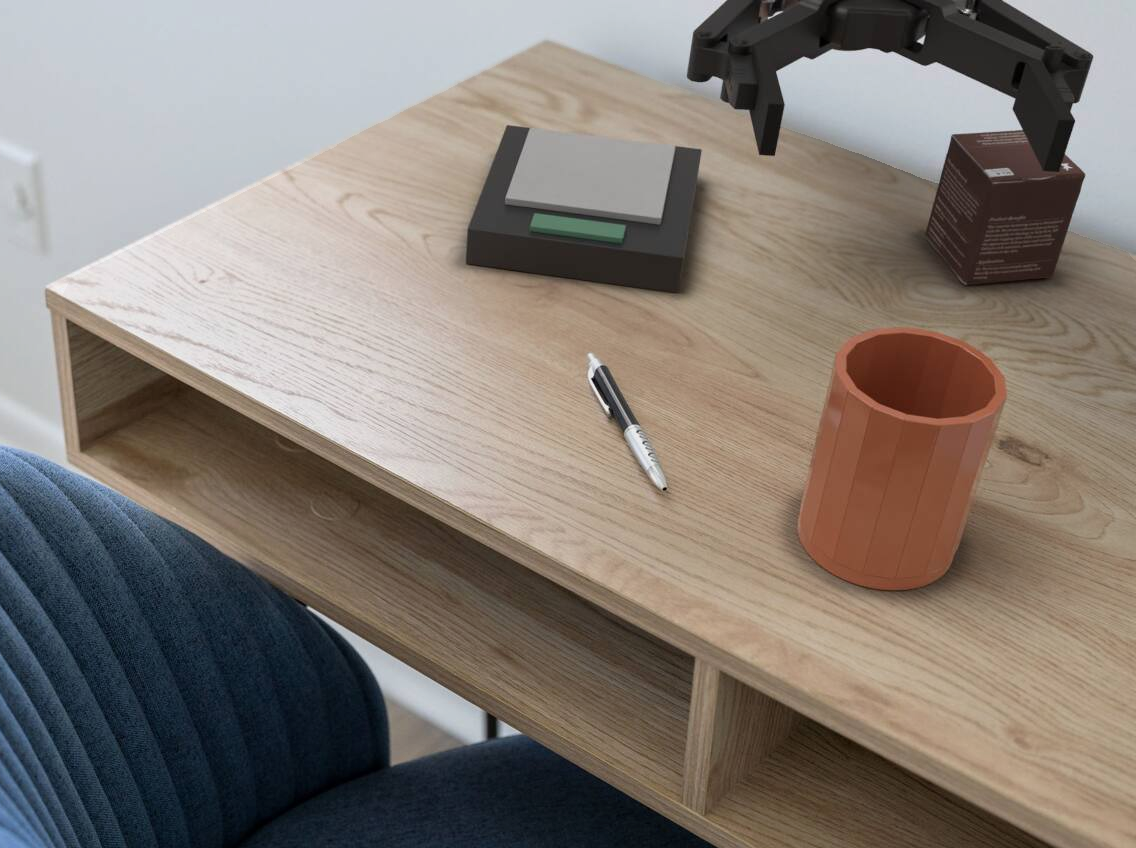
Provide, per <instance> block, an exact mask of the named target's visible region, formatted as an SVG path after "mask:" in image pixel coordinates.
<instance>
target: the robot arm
mask: <svg viewBox="0 0 1136 848" xmlns="http://www.w3.org/2000/svg"><path fill="white" fill-rule="evenodd" d="M776 13H777V14H776ZM775 14H776V15H775ZM922 38H924V39H923V42H919V40H921V39H922ZM867 49H871V50H877V51H879V52H882V53H884V54H889V53H895V54H897V55H899V56H901V57H903V58H905V59H908V60H910V61H912V62H914V63H916V64H919V65H920V66H924V67H927V66H931V65H932V64H936V63H938V64H939V65H942V66H943V67H946V68H948V69H950V70H952V71H954V72H956V73H959V74H960V75H963V76H966V78H967V77H968V78H970V79H972V80H974V81H975V82H978V83H981V84H982V85H984V86H987V87H989V88H992V89H993V90H995V91H998V92H999V93H1002V94H1004V95H1006V96H1008V97H1010V98H1012V99H1014V102H1013V104H1012V111H1013V114H1014V115H1015V117H1016V119H1017V121H1018V123H1019V126H1020V127H1021V130H1023V131H1024V133H1025V135H1026V137H1027V139H1028V141H1029V143H1030V145H1031V147H1032V149H1033V151H1034V153H1035V155H1036V157H1037V159H1038V161H1039V164H1040V166H1041V168H1042V170H1043V171H1051V172H1059V170H1060V167H1061V164H1062V161H1063V158H1064V155H1066V151H1067V149H1068V146H1069V143H1070V138H1071V137H1072V132H1073V130H1074V128H1075V127H1074V126H1075V124H1076V119H1075V117H1074V116H1073V114H1072V112H1071V111H1072V108H1073V104H1077V103H1080V100H1081V97H1082V94H1083V92H1084V89H1085V88H1084V87H1085V85H1086V81H1087V79H1088V76H1089V73H1090V69H1091V66H1092V63H1093V60H1094V55H1093V53H1091V51H1088V50H1087V49H1085V48H1084V47H1081V46H1079V45H1078V44H1076V43H1074V42H1073V41H1071V40H1070V39H1068V38H1066V37H1065V36H1063V35H1061V34H1059V33H1058V32H1056V31H1055V30H1053V29H1051V28H1050V27H1047V26H1046V25H1044V24H1043V23H1041V22H1039V21H1037V20H1036V19H1035V18H1033V17H1031V16H1029V15H1028V14H1026V13H1024V12H1023V11H1021V10H1020V9H1018V8H1016V7H1014V6H1012V5H1011V4H1009V3H1007V2H1006V1H1004V0H725V2H723V3H722V4H721V5H720V6H719V7H718V8H717V9H716V10H715V11H714V12H712V13H711V14H710V15H709V16H708V17H707V18H706V19H705V20H704V21H703V22H702V23H700V24H699V26H697V27H696V28H695V29H694V30H693V32H692V37H691V45H690V49H689V50H690V52H689V57H688V64H687V71H686V78H687V80H689V81H690V82H695V83H706V82H708V81H710V80H711V79H712V78H713V77H714V78H717V79H720V80H722V83H721V89H720V94H719V95H720V96H719V99H720V100H721V101H722V102H724V103H727V104H729V106H731V107H732V108H733V109H734V110H741V111H749V115H750V120H751V124H752V130H753V134H754V138H755V144H756V147H757V152H758V156H767V157H768V156H769V157H775V156H776V151H777V147H778V142H779V136H780V131H781V128H782V127H781V126H782V121H783V115H784V110H785V105H786V104H785V100H784V95H783V92H782V88H781V86H780V85H781V84H780V81H779V77H778V73H777V72H778V71H780V70H782V69H784V68H785V67H787V66H790V65H791V64H793V63H795V62H797V61H798V60H800V59H802V58H806V59H809V60H815V59H817V58H818V57H820V56H822V55H825V54H826V53H827V52H830V51H832V50H834V51H838V52H839V51H840V52H856V51H863V50H867Z"/></svg>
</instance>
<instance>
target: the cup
mask: <svg viewBox="0 0 1136 848" xmlns="http://www.w3.org/2000/svg"><path fill="white" fill-rule="evenodd" d="M1007 393H1008V392H1007V384H1006V377H1005V375H1004V374H1003V373H1002V371H1001V370H1000V369H999V367H998V366H997V365H996V363H994V361H993V360H992V359H991V358H990V357H989V356H988V355H986V354H984V353H983V352H982V351H980V350H978V349H976V347H974V346H972V345H971V344H969V343H967V342H965V341H963V340H961V339H958V338H955V337H952V336H949V335H947V334H944V333H941V332H938V331H934V330H929V329H923V328H914V327H907V326H895V327H894V326H893V327H882V328H873V329H869V330H866V331H864V332H861V333H859V334H857V335H856V334H855V335H854V336H852V337H850V338H848V339H847V340H846V341H845V342H844V344H842V346H840V348H839V349H838V350H837V351H836V352H835V356H834V360H833V365H832V368H831V373H830V376H829V381H828V386H827V389H826V395H825V399H824V403H823V406H822V407H823V408H822V410H821V411H822V412H821V415H820V420H819V425H818V429H817V433H816V437H815V442H814V445H813V450H812V454H811V458H810V459H811V460H810V463H809V467H808V472H807V476H806V479H805V480H806V481H805V483H804V488H803V493H802V498H801V502H800V510H799V515H798V519H797V535H798V539H799V540H800V543H801V546H802V547H803V548H804V550H805V552H806V553H807V554H808V556H810V558H811V559H812V560H813V561H814V562H816V564H817V565H819V566H820V567H822V568H823V569H824V570H825V571H827V572H829V573H830V574H832V575H833V576H835V577H838V578H840V579H841V580H844V581H846V582H849V583H852V584H853V585H857V586H860V587H864V588H869V589H874V590H881V591H908V590H914V589H915V590H916V589H918V588H922V587H925V586H928V585H930V584H932V583H934V582H936V581H938V580H939V579H940V578H942V577H943V576H944V575H945V574H946V573H947V571H948V570H949V569H950V567H951V565H952V563H953V560H954V558H955V554H956V552H957V551H958V549H959V546H960V543H961V541H962V538H963V534H964V531H965V528H966V525H967V522H968V519H969V515H970V513H971V510H972V506H973V503H974V500H975V498H976V494H977V491H978V487H979V485H980V482H981V478H982V475H983V471H984V469H985V466H986V462H987V459H988V457H989V454H990V450H991V447H992V444H993V440H994V439H995V435H996V431H997V428H998V425H999V422H1000V420H1001V416H1002V414H1003V410H1004V407H1005V404H1006V400H1007V397H1008V394H1007Z"/></svg>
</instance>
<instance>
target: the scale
mask: <svg viewBox="0 0 1136 848" xmlns="http://www.w3.org/2000/svg"><path fill="white" fill-rule="evenodd" d="M500 139H501V140H500V141H499V144H498V147H497V150H496V152H495V156H494V158H493V160H492V162H491V166H490V169H489V171H488V173H487V176H486V179H485V181H484V184H483V187H482V189H481V193H480V195H479V198H478V200H477V203H476V206H475V208H474V211H473V213H472V216H471V219H470V221H469V224H468V227H467V229H466V230H467V233H466V249H465V250H466V251H465V264H467V265H473V266H479V267H480V266H481V267H487V268H495V269H501V270H502V269H503V270H510V271H517V272H524V273H531V274H537V275H538V274H539V275H546V276H552V277H553V276H554V277H560V278H568V279H575V280H582V281H588V282H589V281H590V282H595V283H596V282H597V283H603V284H610V285H618V286H623V287H624V286H625V287H632V288H639V289H647V290H654V291H660V292H669V293H676V294H677V293H679V292H680V291H679V290H680V285H681V278H682V273H683V268H684V260H685V255H686V249H687V243H688V237H689V232H690V226H691V220H692V214H693V207H694V202H695V196H696V190H697V184H698V178H699V171H700V166H701V165H700V164H701V159H702V152H703V150H702V149H701V148H694V147H687V146H678V145H672V144H671V145H670V144H662V143H655V142H647V141H640V140H639V141H638V140H630V139H622V138H615V137H606V136H600V135H599V136H597V135H592V134H591V135H590V134H582V133H574V132H567V131H558V130H550V129H544V128H543V129H542V128H535V127H534V128H533V127H527V126H519V125H510V124H507V125H505V129H504V131H503V134H502V137H501V138H500Z"/></svg>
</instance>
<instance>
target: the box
mask: <svg viewBox="0 0 1136 848" xmlns="http://www.w3.org/2000/svg"><path fill="white" fill-rule="evenodd" d="M1085 178H1086V173H1085V171H1083V170H1082V169H1081V167H1079V166H1078V165H1077V164H1076V163H1075V162H1074V161H1073V160H1072V159H1071V158H1070V157H1069V156H1068V155H1067V154H1065V155H1064V158H1063V161H1062V164H1061V167H1060V170H1059V172H1051V171H1043V170H1042V168H1041V166H1040V164H1039V161H1038V159H1037V157H1036V155H1035V153H1034V151H1033V149H1032V147H1031V145H1030V143H1029V141H1028V139H1027V137H1026V135H1025V133H1024V131H1023V129H1016V130H1001V131H987V132H986V131H985V132H970V133H969V132H968V133H952V134H951V136H950V141H949V146H948V149H947V152H946V155H945V158H944V162H943V167H942V170H941V173H940V178H939V182H938V185H937V189H936V191H935V196H934V200H933V204H932V207H931V210H930V215H929V218H928V221H927V222H928V223H927V225H926V230H925V232H924V233H925V239H926V240H927V242H928V243H929V244H930V245H931V246H932V248H933V249H934V250H935V251H936V252H937V253H938V254H939V255H940V256H941V258H942V259H943V260H944V261H945V263H946V264H947V265H948V266H949V268H950V269H951V271H952V273H954V274H955V275H956V277H957V279H958V280H959V281H960V282H961V283H962V284H963V285H965V286H969V285H979V284H989V283H1001V282H1009V281H1010V282H1011V281H1020V280H1033V279H1046V278H1047V279H1049V278H1050V279H1051V278H1053V277H1054V275H1055V272H1056V268H1057V265H1058V262H1059V259H1060V256H1061V253H1062V250H1063V246H1064V243H1065V240H1066V237H1067V234H1068V231H1069V227H1070V224H1071V221H1072V218H1073V214H1074V212H1075V210H1076V209H1075V208H1076V205H1077V202H1078V200H1079V197H1080V194H1081V191H1082V186H1083V184H1084V180H1085Z"/></svg>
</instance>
